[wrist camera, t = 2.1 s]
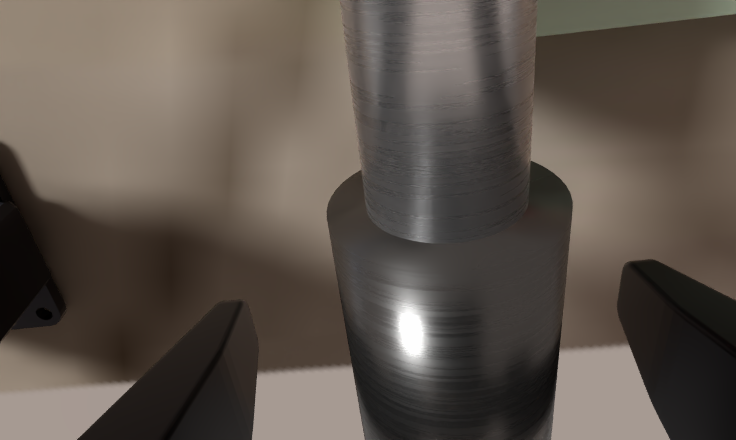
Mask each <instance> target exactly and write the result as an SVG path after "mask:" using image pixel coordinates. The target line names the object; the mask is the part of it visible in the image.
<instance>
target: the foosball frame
mask: <svg viewBox="0 0 736 440" xmlns="http://www.w3.org/2000/svg"><path fill="white" fill-rule="evenodd" d="M732 14H736V0H538V8H537V30H536V37H540V36H549V35H558V34H567V33H575V32H584V31H593V30H601V29H610V28H619V27H628V26H636V25H645V24H654V23H662V22H671V21H680V20H689V19H697V18H706V17H715V16H723V15H732Z"/></svg>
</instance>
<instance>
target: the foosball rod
mask: <svg viewBox="0 0 736 440" xmlns="http://www.w3.org/2000/svg"><path fill="white" fill-rule="evenodd" d="M340 6H341V14H342V22H343V30H344V38H345V46H346V53H347V61H348V69H349V77H350V85H351V93H352V100H353V108H354V116H355V124H356V132H357V140H358V147H359V155H360V163H361V170H360V171H359V172H357V173H355V174H354V175H352V176H351V177H349V178H348V179H347V180H346V181H344V182H343V183H342V184H341V185H340V186H339V187H338V188H337V189H336V191H335V192H334V194H333V195H332V197H331V199H330V201H329V203H328V207H327V222H328V227H329V233H330V239H331V245H332V251H333V257H334V262H335V268H336V274H337V280H338V286H339V291H340V297H341V303H342V309H343V315H344V321H345V326H346V332H347V338H348V344H349V350H350V356H351V361H352V367H353V373H354V379H355V385H356V390H357V396H358V402H359V408H360V414H361V419H362V425H363V431H364V436H365V440H551V433H552V423H553V412H554V400H555V391H556V380H557V369H558V359H559V348H560V337H561V327H562V316H563V305H564V295H565V284H566V273H567V263H568V252H569V242H570V231H571V220H572V207H573V202H572V198H571V194H570V192H569V190H568V188H567V186H566V185H565V184H564V183H563V182H562V180H561V179H560V178H559V177H557V176H556V175H555V174H554V173H553V172H551V171H549V170H548V169H546V168H545V167H543V166H541V165H539V164H537V163H535V162H532V161H530V160H531V138H532V116H533V95H534V73H535V51H536V30H537V8H538V0H340Z"/></svg>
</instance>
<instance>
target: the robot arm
mask: <svg viewBox="0 0 736 440" xmlns="http://www.w3.org/2000/svg"><path fill="white" fill-rule="evenodd" d="M44 308H46V309H48V310H50V311H51V312H50V311H47V310H45V309H44ZM617 310H618V316H619V319H620V322H621V324H622V327H623V330H624V332H625V335H626V337H627V340H628V343H629V345H630V348H631V350H632V353H633V356H634V358H635V361H636V363H637V366H638V369H639V371H640V374H641V377H642V379H643V382H644V385H645V387H646V390H647V392H648V395H649V397H650V399H651V402H652V404H653V406H654V408H655V410H656V412H657V414H658V416H659V419H660V421H661V422H662V424H663V426H664V428H665V430H666V432H667V434H668V436H669V438H670V440H736V300H734V299H732V298H730V297H728V296H726V295H724V294H722V293H720V292H718V291H716V290H714V289H712V288H710V287H708V286H706V285H704V284H702V283H700V282H698V281H696V280H694V279H692V278H690V277H688V276H686V275H684V274H682V273H680V272H678V271H676V270H674V269H672V268H670V267H668V266H666V265H664V264H662V263H660V262H658V261H656V260H653V259H647V260H637V261H629V262H627V263H626V264H625V265H624V267H623V270H622V275H621V282H620V288H619V294H618V301H617ZM65 312H66V305H65V303H64V301H63V299H62V297H61V295H60V293H59V291H58V289H57V287H56V285H55V283H54V281H53V279H52V277H51V274H50V272H49V270H48V268H47V266H46V264H45V262H44V260H43V258H42V256H41V254H40V252H39V250H38V248H37V246H36V244H35V242H34V240H33V238H32V236H31V234H30V232H29V230H28V228H27V226H26V224H25V222H24V220H23V218H22V216H21V214H20V212H19V210H18V208H17V207H16V205H15V203H14V201H13V199H12V197H11V195H10V193H9V191H8V189H7V187H6V185H5V183H4V181H3V179H2V177H1V175H0V343H1V341H2V340H3V339H4V338H5V336H6V335H7V334H8V332H9V331H10V330H12V329H22V328H33V327H43V326H51V325H55V324H57V323H58V322H59V321H60V320H61V318H62V317H63V315H64V314H65ZM258 352H259V347H258V338H257V335H256V331H255V327H254V324H253V320H252V317H251V313H250V310H249V307H248V304H247V303H246V301H244V300H231V301H222V302H219V303H218V304H217V305H215V306H214V307H213V308H212V309H211V310H210V311H209V312H208V313H207V314H206V315H205V316H204V317H203V318H202V319H201V320H200V321H199V322H198V323H197V324H196V325H195V326H194V327H193V328H192V329H191V330H190V331H189V332H188V333H187V334H186V335H185V336H183V337H182V338H181V339H180V340H179V341H178V342H177V343H176V344H175V345H174V346H173V347H172V348H171V349H170V350H169V351H168V352H167V353H166V354H165V355H164V356H163V357H162V358H161V359H160V360H159V361H158V362H157V363H156V364H155V365H154V366H153V367H152V368H150V369H149V370H148V371H147V372H146V373H145V374H144V375H143V376H142V377H141V378H140V379H139V380H138V381H137V382H136V383H135V384H134V385H133V386H132V387H131V388H130V389H129V390H128V391H127V392H126V393H125V394H124V395H123V396H122V397H121V398H120V399H119V400H118V401H116V402H115V404H113V405H112V406H111V407H110V408H109V409H108V410H107V411H106V412H105V413H104V414H103V415H102V416H101V417H100V418H99V419H98V420H97V421H96V422H95V423H94V424H93V425H92V426H91V427H90V428H89V429H88V430H87V431H86V432H85V433H84V434H83V435H82V436H80V437H79V438H78V439H77V440H252V431H253V420H254V406H255V393H256V380H257V366H258Z"/></svg>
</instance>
